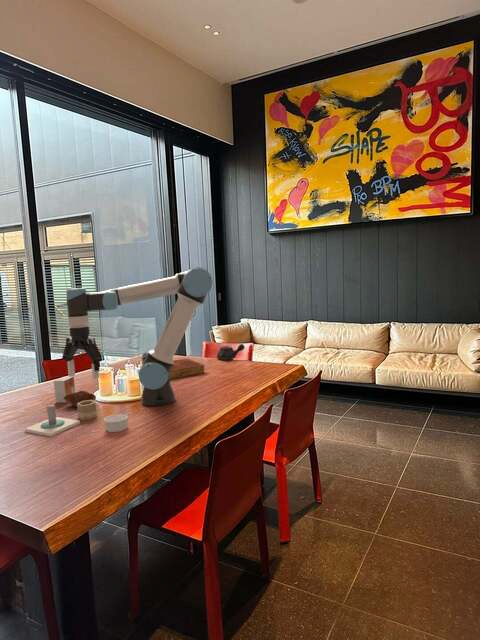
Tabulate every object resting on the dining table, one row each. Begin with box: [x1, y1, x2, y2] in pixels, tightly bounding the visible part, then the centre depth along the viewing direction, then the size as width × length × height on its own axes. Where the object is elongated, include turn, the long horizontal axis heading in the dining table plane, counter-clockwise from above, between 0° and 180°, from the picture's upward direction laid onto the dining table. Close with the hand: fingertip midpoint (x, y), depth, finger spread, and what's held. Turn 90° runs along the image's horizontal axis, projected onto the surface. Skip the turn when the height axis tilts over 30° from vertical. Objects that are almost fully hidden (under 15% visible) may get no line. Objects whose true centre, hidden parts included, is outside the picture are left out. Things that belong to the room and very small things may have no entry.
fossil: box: [63, 389, 97, 408], centre depth 192 cm, size 13×8×10 cm
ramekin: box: [103, 413, 129, 433], centre depth 163 cm, size 9×9×4 cm
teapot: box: [216, 343, 246, 361], centre depth 276 cm, size 19×15×10 cm
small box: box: [53, 376, 76, 404], centre depth 202 cm, size 8×6×10 cm
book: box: [170, 358, 205, 380], centre depth 246 cm, size 30×24×5 cm
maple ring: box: [76, 400, 98, 421], centre depth 178 cm, size 7×7×6 cm
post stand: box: [24, 404, 81, 438], centre depth 167 cm, size 14×14×9 cm
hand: (83, 377), depth 176 cm, fingers open, 13 cm apart
